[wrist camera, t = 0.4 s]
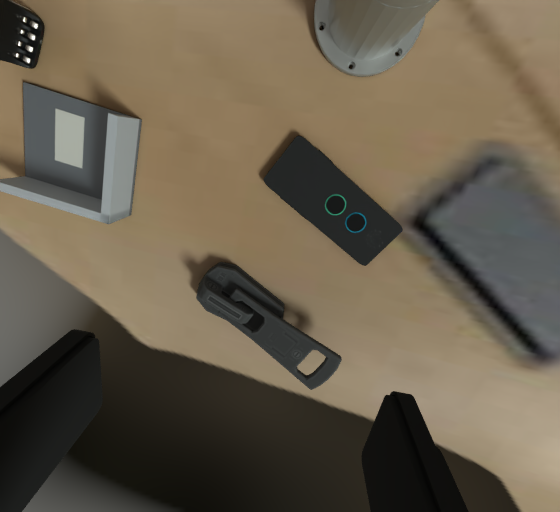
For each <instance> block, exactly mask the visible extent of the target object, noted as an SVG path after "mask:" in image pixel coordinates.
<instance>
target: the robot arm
mask: <svg viewBox="0 0 560 512" xmlns="http://www.w3.org/2000/svg"><path fill="white" fill-rule="evenodd" d="M438 1H439V0H316V2H315V9H314V28H315V33H316V38H317V41H318V44H319V47H320V49H321V51H322V53H323V54H324V56H325V57H326V59H327V60H328V61H329V62H330V63H331V64H332V65H333V66H334V67H335V68H337V69H338V70H340V71H341V72H343V73H346V74H348V75H351V76H358V77H366V76H373V75H376V74H380V73H382V72H384V71H386V70H388V69H390V68H391V67H392V66H394V65H395V64H396V63H398V62H399V61H400V60H401V59H402V58H403V57H404V56H405V55H406V54H407V53H408V51H409V50H410V49H411V48H412V46H413V45H414V43H415V41H416V40H417V38H418V36H419V34H420V31H421V29H422V26H423V24H424V19H425V15H426V14H427V13H428V12H429V11H430V10H431V8H432V7H433V6H434V5H435V4H436V3H437V2H438ZM320 27H323V28H324V29H323V30H322V31H321V30H320V29H319V28H320ZM395 52H398V56H395ZM349 65H352V67H353V68H352V69H349ZM101 405H102V383H101V366H100V351H99V340H98V339H96V338H95V335H94V334H93V333H91V332H86V331H81V330H75V329H74V330H71V331H70V332H68V333H67V334H66V335H64V336H63V337H62V338H61V339H60V340H58V341H57V342H56V343H55V344H53V345H52V346H51V347H50V348H48V349H47V350H46V351H45V352H43V353H42V354H41V355H40V356H38V357H37V358H36V359H35V360H33V361H32V362H31V363H30V364H28V365H27V366H26V367H25V368H24V369H22V370H21V371H20V372H18V373H17V374H16V375H15V376H14V377H12V378H11V379H10V380H9V381H7V382H6V383H5V384H4V385H2V386H1V387H0V512H22V510H23V509H24V508H25V507H26V505H27V504H28V503H29V502H30V500H31V499H32V498H33V496H34V495H35V493H36V492H37V491H38V490H39V488H40V487H41V486H42V485H43V483H44V482H45V481H46V479H47V478H48V476H49V475H50V474H51V472H52V471H53V470H54V469H55V468H56V466H57V465H58V464H59V462H60V461H61V460H62V458H63V457H64V456H65V454H66V453H67V452H68V451H69V449H70V448H71V447H72V445H73V444H74V442H75V441H76V440H77V439H78V437H79V436H80V435H81V433H82V432H83V431H84V429H85V428H86V427H87V426H88V424H89V423H90V422H91V420H92V419H93V418H94V416H95V415H96V414H97V412H98V411H99V409H100V407H101ZM362 467H363V471H364V477H365V483H366V488H367V494H368V499H369V504H370V510H371V512H468V510H467V508H466V505H465V503H464V501H463V499H462V496H461V494H460V492H459V490H458V488H457V485H456V483H455V481H454V479H453V476H452V474H451V472H450V470H449V467H448V466H447V463H446V461H445V459H444V457H443V455H442V453H441V451H440V450H439V449H438V448H437V447H436V446H435V444H434V442H433V440H432V437H431V435H430V433H429V430H428V428H427V426H426V424H425V421H424V419H423V417H422V414H421V412H420V410H419V408H418V405H417V403H416V401H415V399H414V397H413V396H412V395H411V394H406V393H400V392H395V391H393V392H391V394H390V395H386V396H385V397H384V400H383V402H382V404H381V407H380V409H379V412H378V414H377V417H376V419H375V422H374V424H373V426H372V429H371V431H370V434H369V436H368V439H367V441H366V443H365V446H364V449H363V451H362Z"/></svg>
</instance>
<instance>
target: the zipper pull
mask: <svg viewBox="0 0 560 512" xmlns="http://www.w3.org/2000/svg"><path fill="white" fill-rule="evenodd" d="M196 298H197V300H198V301H199V302H200V303H201V305H202V306H203V307H204V308H205V310H206V311H208V312H210V313H212V314H214V315H217V316H219V317H221V318H223V319H225V320H227V321H228V322H230V323H231V324H232V325H234V326H235V327H236V328H238V329H239V330H240V331H242V332H243V333H244V334H245V335H247V336H248V337H249V338H251V339H252V340H253V341H254V342H255V343H257V344H258V345H259V346H260V347H261V348H262V349H264V350H265V351H266V352H267V353H268V354H270V355H271V356H272V357H273V358H274V359H275V360H277V361H278V362H279V363H280V364H281V365H282V366H284V367H285V368H286V369H287V370H288V371H289V372H291V373H292V374H293V375H294V376H295V377H296V378H297V379H299V380H300V381H301V382H302V383H303V384H304V385H306V386H307V387H308V388H309V389H311V390H312V389H314V388H316V387H318V386H320V385H322V384H323V383H324V382H325V381H327V380H328V379H329V378H330V377H331V376H332V375H333V373H334V372H335V371H336V370H337V368H338V366H339V364H340V362H341V356H340V355H338V354H336V353H335V352H333V351H332V350H330V349H329V348H327V347H326V346H324V345H323V344H321V343H319V342H318V341H316V340H314V339H313V338H311V337H310V336H308V335H307V334H305V333H303V332H302V331H300V330H299V329H297V328H296V327H294V326H292V325H291V324H289V323H288V322H286V321H285V320H283V312H284V303H283V302H282V301H281V300H279V299H278V298H277V297H276V296H274V295H273V294H272V293H271V292H269V291H268V290H267V289H266V288H264V287H263V286H262V285H261V284H259V283H258V282H257V281H256V280H254V279H253V278H252V277H251V276H249V275H248V274H247V273H246V272H245V271H244V270H242V269H241V268H240V267H239V266H237V265H233V264H229V263H224V262H220V263H218V264H217V265H215V266H214V267H212V268H211V269H210V270H209V271H208V272H207V273H206V275H205V276H204V277H203V279H202V280H201V282H200V283H199V287H198V291H197V297H196ZM312 350H318V351H319V352H321V353H322V354H323V355H325V356H326V358H325V360H324V362H323V363H322V364H321V365H320V366H319V367H318V368H317V369H316V370H315V371H314V372H313V373H311V374H309V375H305V374H303V373H302V372H301V371H299V370H298V369H297V366H298V365H299V364H300V363H301V362H302V360H303V359H304V358H305V357H306V356H307V355H308V354H309V353H310V352H311V351H312Z"/></svg>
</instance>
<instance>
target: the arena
mask: <svg viewBox="0 0 560 512" xmlns="http://www.w3.org/2000/svg"><path fill="white" fill-rule="evenodd" d="M23 100H24V139H25V176H23V177H15V178H6V179H0V191H2V192H5V193H8V194H12V195H15V196H18V197H21V198H25V199H28V200H31V201H35V202H38V203H41V204H44V205H48V206H51V207H54V208H57V209H61V210H64V211H67V212H71V213H74V214H77V215H80V216H84V217H87V218H90V219H93V220H97V221H100V222H103V223H106V224H111V223H113V222H115V221H118V220H120V219H123V218H125V217H127V216H130V215H131V211H132V202H133V193H134V185H135V176H136V167H137V158H138V149H139V140H140V131H141V122H142V120H141V119H138V118H135V117H132V116H129V115H126V114H122V113H119V112H116V111H113V110H110V109H107V108H104V107H101V106H98V105H94V104H91V103H88V102H85V101H82V100H79V99H76V98H73V97H69V96H66V95H63V94H60V93H57V92H54V91H51V90H48V89H45V88H41V87H38V86H35V85H32V84H29V83H25V82H23Z"/></svg>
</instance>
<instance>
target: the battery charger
mask: <svg viewBox="0 0 560 512" xmlns="http://www.w3.org/2000/svg"><path fill="white" fill-rule="evenodd" d="M43 35H44V23H43V21H42V20H41V19H40V18H39V17H38V16H37V15H36V14H35V13H33V12H32V11H31V10H30V9H28V8H27V7H24V6H22V5H20V4H18V3H15V2H13V1H11V0H0V60H3V61H6V62H10V63H13V64H16V65H19V66H22V67H26V68H31V69H32V68H35V67H36V64H37V62H38V58H39V54H40V50H41V45H42V40H43Z"/></svg>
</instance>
